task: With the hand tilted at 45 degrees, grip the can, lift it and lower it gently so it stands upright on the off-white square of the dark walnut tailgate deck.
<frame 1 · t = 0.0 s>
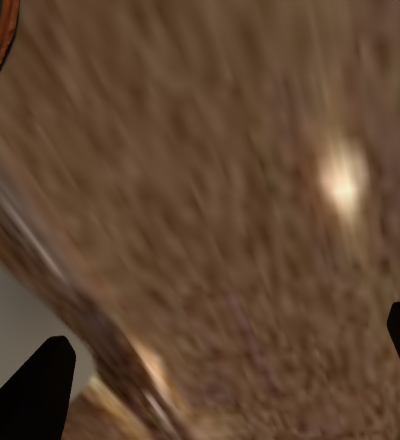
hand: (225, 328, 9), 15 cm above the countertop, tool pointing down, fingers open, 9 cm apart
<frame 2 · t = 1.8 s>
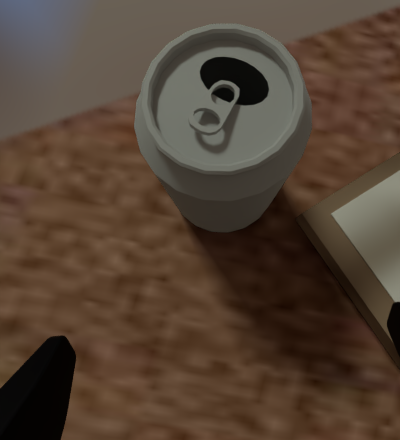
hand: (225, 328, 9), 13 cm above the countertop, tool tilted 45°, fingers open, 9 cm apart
can: (222, 185, 23), on the countertop
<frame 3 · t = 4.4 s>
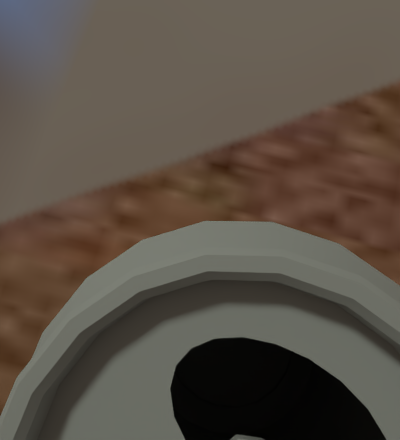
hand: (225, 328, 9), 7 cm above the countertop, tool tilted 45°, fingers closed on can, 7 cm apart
can: (228, 337, 15), on the countertop, touching gripper
when the fingers open (10 cm above the countertop, at t = 8.4 s): can stays where it is, resting on tailgate deck.
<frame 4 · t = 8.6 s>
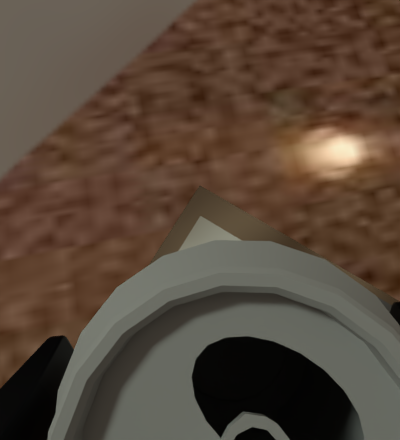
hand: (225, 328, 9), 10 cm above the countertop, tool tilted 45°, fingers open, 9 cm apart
can: (228, 336, 16), point 2 cm above the countertop, touching tailgate deck
tailgate deck: (235, 331, 18), on the countertop
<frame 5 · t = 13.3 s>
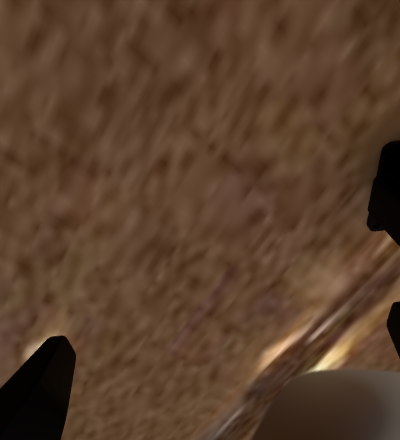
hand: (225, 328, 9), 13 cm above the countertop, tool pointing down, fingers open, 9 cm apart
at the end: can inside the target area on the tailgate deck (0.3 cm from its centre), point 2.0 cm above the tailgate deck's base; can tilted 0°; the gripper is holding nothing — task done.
